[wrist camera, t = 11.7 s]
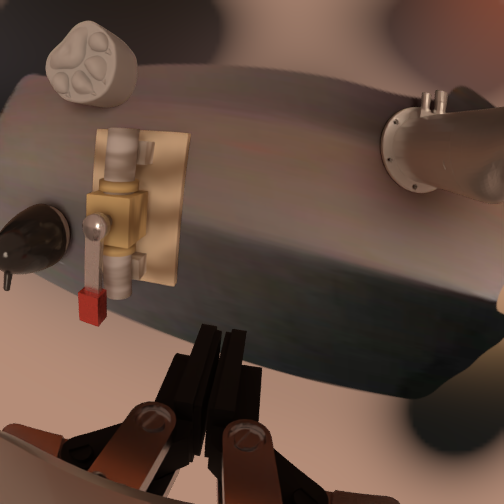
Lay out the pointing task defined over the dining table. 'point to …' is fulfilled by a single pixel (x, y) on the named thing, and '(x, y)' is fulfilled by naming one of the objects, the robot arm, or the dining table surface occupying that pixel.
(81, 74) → the lumpy-topped squat cylinder
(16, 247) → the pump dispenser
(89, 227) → the valve lever
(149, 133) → the valve bench
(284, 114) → the dining table surface
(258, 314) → the dining table surface
